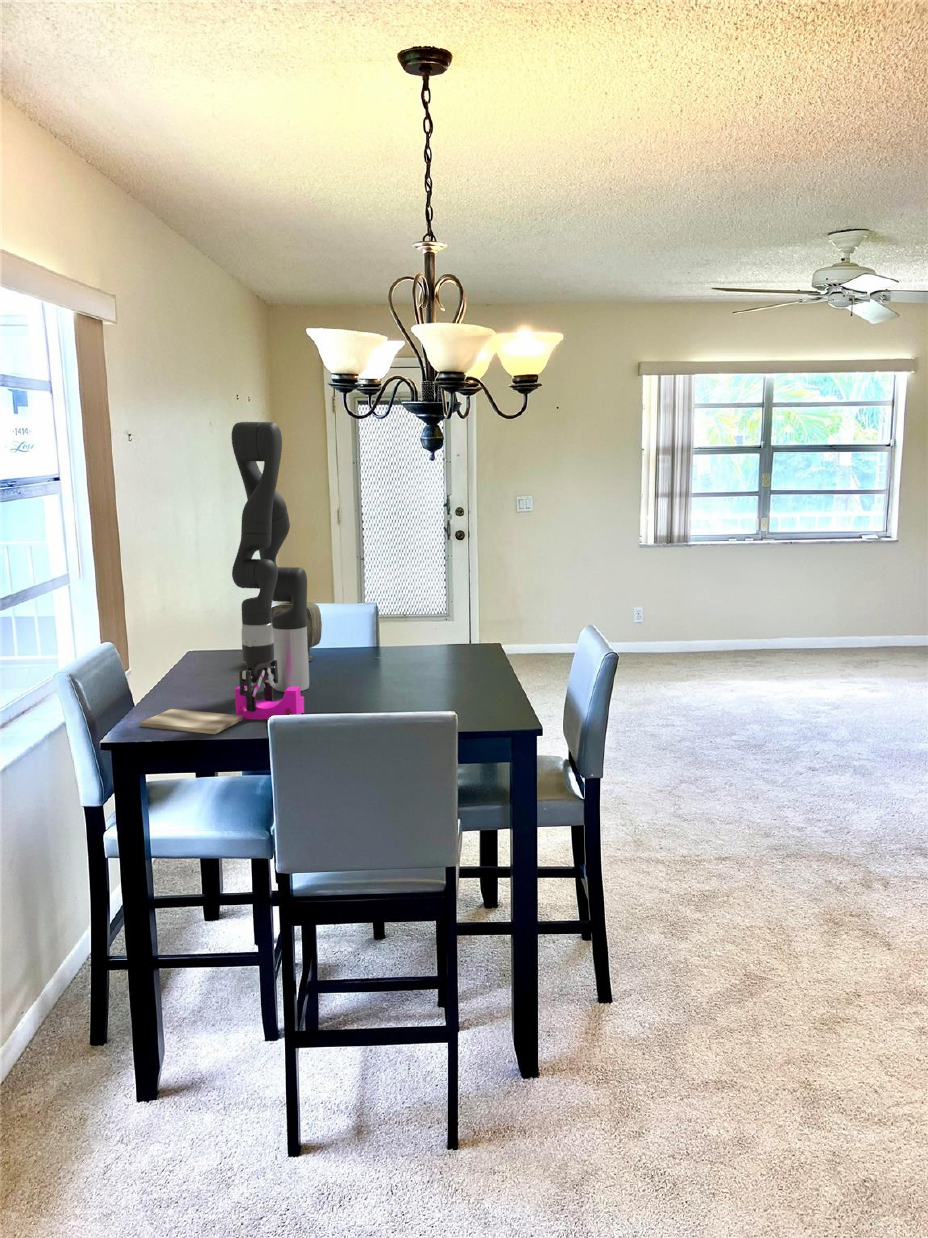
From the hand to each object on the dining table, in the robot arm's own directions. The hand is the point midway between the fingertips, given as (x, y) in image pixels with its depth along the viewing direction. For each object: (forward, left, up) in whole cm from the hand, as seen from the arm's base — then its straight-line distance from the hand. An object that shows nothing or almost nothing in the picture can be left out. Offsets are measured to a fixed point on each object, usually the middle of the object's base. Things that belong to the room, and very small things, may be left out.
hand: (260, 706), depth 216 cm
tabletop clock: (-59, -21, -2) cm, 63 cm away
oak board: (+11, -12, -2) cm, 16 cm away
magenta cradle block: (0, +3, -3) cm, 4 cm away
